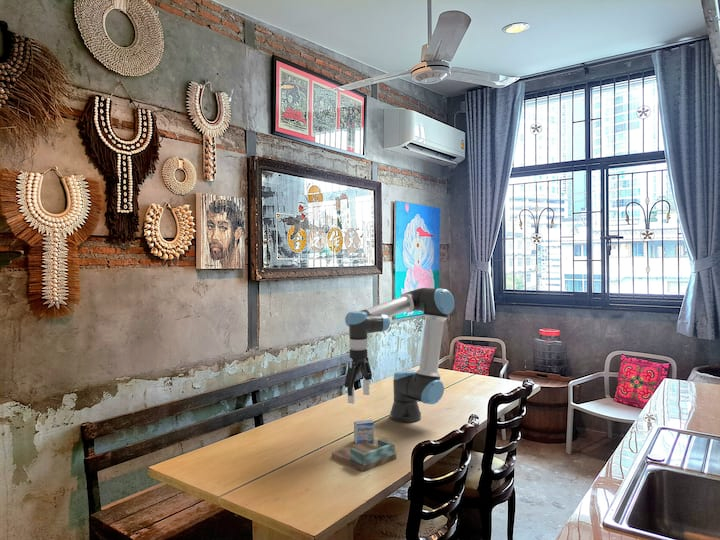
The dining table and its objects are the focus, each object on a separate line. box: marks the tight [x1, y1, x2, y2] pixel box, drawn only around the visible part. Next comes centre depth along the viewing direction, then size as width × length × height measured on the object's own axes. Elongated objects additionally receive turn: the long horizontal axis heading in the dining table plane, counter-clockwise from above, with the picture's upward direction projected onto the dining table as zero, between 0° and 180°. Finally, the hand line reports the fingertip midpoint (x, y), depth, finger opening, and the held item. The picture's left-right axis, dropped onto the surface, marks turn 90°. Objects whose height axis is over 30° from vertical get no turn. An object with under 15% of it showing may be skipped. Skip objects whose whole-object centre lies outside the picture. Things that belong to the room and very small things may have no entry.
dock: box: [331, 438, 397, 473], centre depth 198 cm, size 18×18×6 cm
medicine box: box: [353, 419, 375, 445], centre depth 215 cm, size 8×4×9 cm, turn 105°
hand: (358, 398), depth 211 cm, fingers open, 13 cm apart
